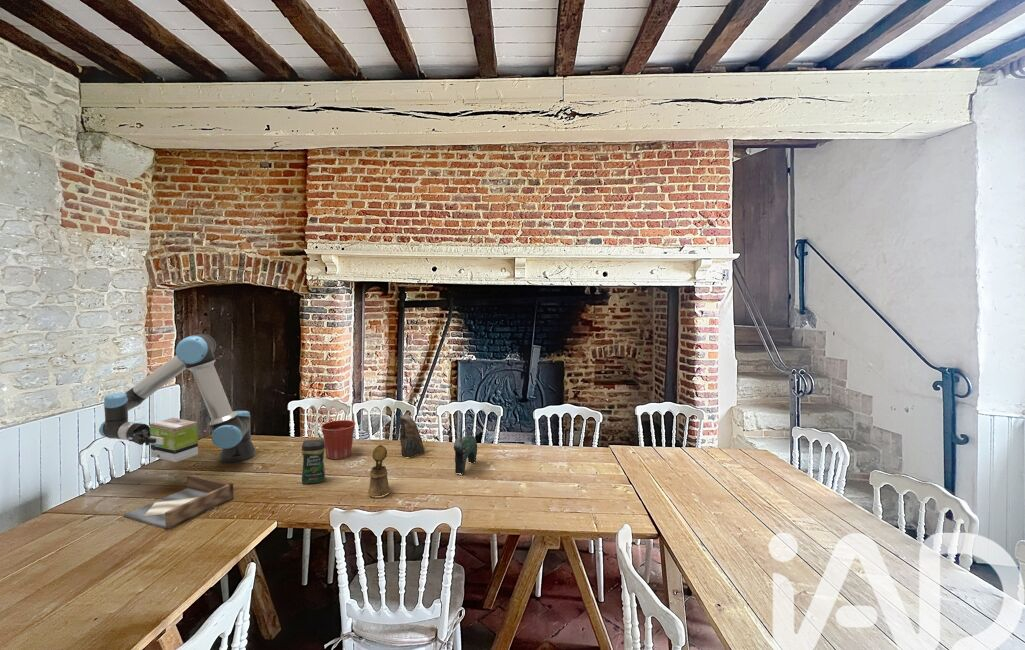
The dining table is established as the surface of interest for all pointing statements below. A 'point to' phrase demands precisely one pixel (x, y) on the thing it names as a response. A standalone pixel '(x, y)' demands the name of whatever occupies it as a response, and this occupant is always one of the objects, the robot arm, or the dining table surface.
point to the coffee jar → (313, 461)
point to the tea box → (175, 439)
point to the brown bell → (378, 474)
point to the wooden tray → (184, 503)
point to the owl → (410, 437)
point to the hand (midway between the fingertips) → (176, 436)
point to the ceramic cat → (464, 451)
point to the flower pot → (338, 438)
